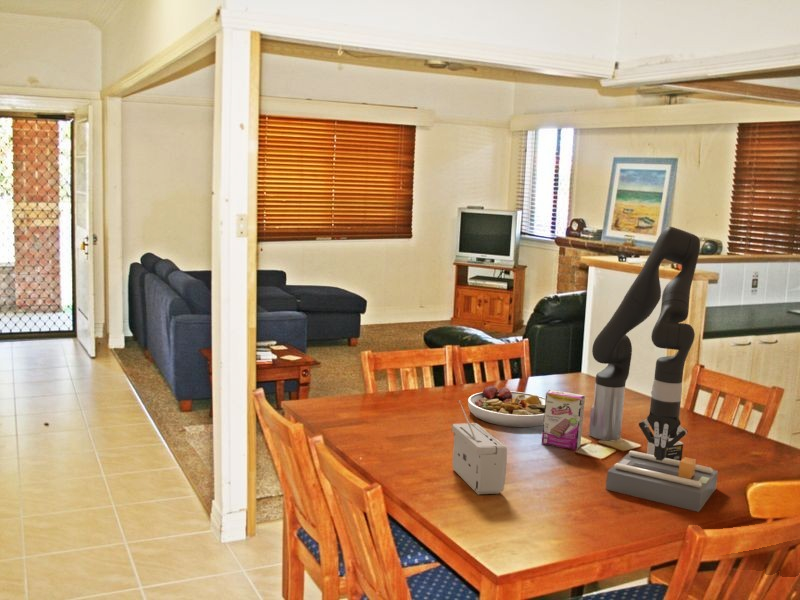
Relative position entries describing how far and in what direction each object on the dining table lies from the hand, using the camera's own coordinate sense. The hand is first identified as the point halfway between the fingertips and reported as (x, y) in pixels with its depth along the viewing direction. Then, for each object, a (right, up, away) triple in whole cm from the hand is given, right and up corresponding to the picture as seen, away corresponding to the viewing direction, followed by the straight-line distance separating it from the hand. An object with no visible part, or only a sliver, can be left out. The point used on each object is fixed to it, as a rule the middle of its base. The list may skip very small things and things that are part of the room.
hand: (659, 459), depth 228 cm
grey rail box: (+1, -8, +1) cm, 8 cm away
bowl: (-31, +3, +62) cm, 69 cm away
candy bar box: (-20, -2, +33) cm, 39 cm away
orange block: (+6, -4, -3) cm, 8 cm away
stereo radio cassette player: (-49, -6, -1) cm, 50 cm away
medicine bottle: (+7, -5, +21) cm, 23 cm away
